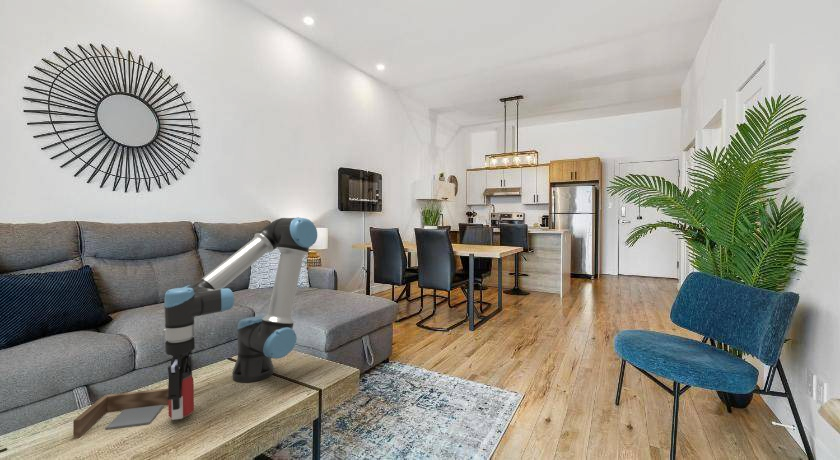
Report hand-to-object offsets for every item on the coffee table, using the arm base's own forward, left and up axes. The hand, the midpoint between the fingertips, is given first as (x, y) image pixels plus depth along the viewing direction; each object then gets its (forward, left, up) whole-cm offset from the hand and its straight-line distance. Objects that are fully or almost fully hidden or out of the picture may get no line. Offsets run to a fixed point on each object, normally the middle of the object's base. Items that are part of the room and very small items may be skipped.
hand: (181, 412), depth 111 cm
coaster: (+13, -5, -2) cm, 14 cm away
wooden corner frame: (+15, -5, -2) cm, 16 cm away
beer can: (0, 0, -1) cm, 1 cm away
